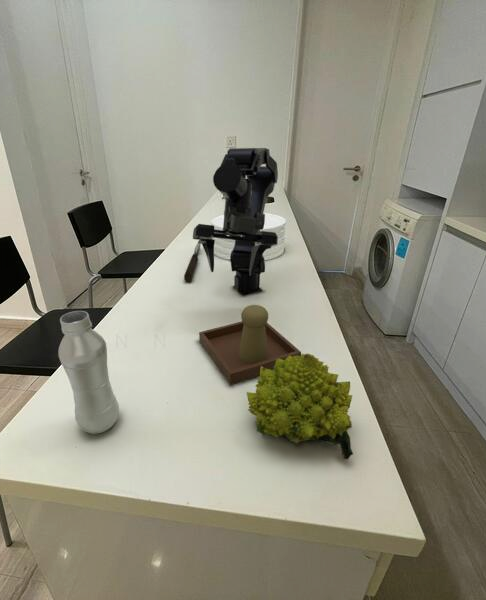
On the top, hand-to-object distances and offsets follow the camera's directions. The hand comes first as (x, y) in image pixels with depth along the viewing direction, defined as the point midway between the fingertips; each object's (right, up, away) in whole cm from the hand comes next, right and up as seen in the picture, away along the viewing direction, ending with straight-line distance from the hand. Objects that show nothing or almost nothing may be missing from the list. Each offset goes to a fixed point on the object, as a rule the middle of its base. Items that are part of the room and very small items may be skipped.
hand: (231, 273), depth 76 cm
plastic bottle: (-23, -26, -22) cm, 41 cm away
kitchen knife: (-9, +10, +42) cm, 44 cm away
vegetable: (+9, -26, -23) cm, 36 cm away
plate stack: (+10, +14, +55) cm, 57 cm away
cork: (+4, -18, -8) cm, 20 cm away
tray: (+3, -17, -6) cm, 18 cm away
